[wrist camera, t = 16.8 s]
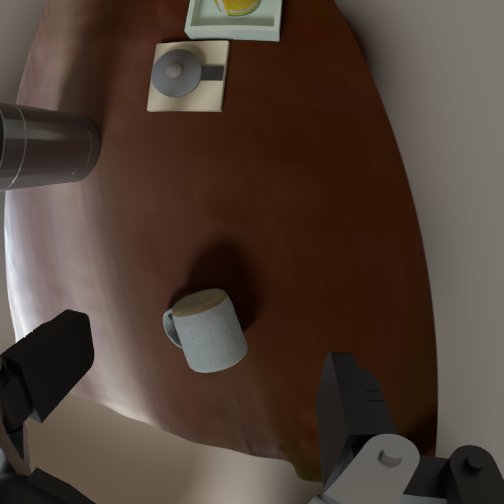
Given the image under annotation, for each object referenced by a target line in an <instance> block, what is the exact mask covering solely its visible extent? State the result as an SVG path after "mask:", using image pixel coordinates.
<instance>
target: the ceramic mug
mask: <svg viewBox="0 0 504 504" xmlns="http://www.w3.org/2000/svg"><path fill="white" fill-rule="evenodd" d="M171 315H172V316H171ZM172 317H173V319H172ZM172 320H173V321H172ZM173 322H174V324H173ZM163 325H164V329H165V331H166V333H167V335H168V337H169V338H170V340H171V341H172V342H173V343H174V344H176V345H177V346H178V347H180V348H182V349H183V351H184V353H185V356H186V359H187V362H188V364H189V366H190V368H191V369H193V370H194V371H197V372H202V373H208V372H215V371H219V370H223V369H226V368H228V367H231V366H233V365H234V364H236V363H237V362H239V361H240V360H241V359H242V358H243V357H244V356H245V354H246V353H247V349H248V346H247V343H246V340H245V338H244V335H243V332H242V329H241V326H240V324H239V321H238V319H237V316H236V313H235V310H234V307H233V304H232V302H231V300H230V298H229V296H228V295H227V293H226V292H225V291H223V290H221V289H208V290H203V291H199V292H196V293H193V294H191V295H189V296H186V297H184V298H182V299H181V300H179V301H178V302H176V303H175V305H174V306H173V307H172V308H171V309H169V310H167V311H166V312H165V313H164V316H163ZM174 326H175V327H174ZM175 328H176V330H175ZM176 331H177V332H176Z"/></svg>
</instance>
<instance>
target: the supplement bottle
mask: <svg viewBox="0 0 504 504" xmlns="http://www.w3.org/2000/svg"><path fill="white" fill-rule="evenodd" d="M214 2H215V4H216V6H217V8H218V10H219V11H220V12H221V13H222V14H223V15H225V16H227V17H231V18H242V17H246V16H249V15H251V14H252V13H254V12H255V11H256V10H257V9H258V7H259V5H260V0H214Z"/></svg>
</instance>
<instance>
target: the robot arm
mask: <svg viewBox="0 0 504 504" xmlns="http://www.w3.org/2000/svg"><path fill="white" fill-rule="evenodd" d="M99 149H100V140H99V134H98V131H97V129H96V127H95V125H94V124H93V123H92V122H91V121H90V120H89V119H87V118H85V117H82V116H77V115H73V114H68V113H63V112H58V111H53V110H47V109H42V108H36V107H30V106H24V105H17V104H10V103H2V102H0V191H7V190H13V189H20V188H27V187H35V186H42V185H51V184H60V183H69V182H76V181H79V180H81V179H83V178H85V177H86V176H87V175H88V174H89V173H90V171H91V170H92V169H93V167H94V165H95V163H96V161H97V158H98V155H99ZM93 361H94V347H93V341H92V334H91V328H90V321H89V317H88V315H87V314H85V313H81V312H77V311H73V310H69V309H67V310H65V311H63V312H62V313H61V314H59V315H58V316H56V317H55V318H54V319H52V320H51V321H48V322H46V323H43V324H41V325H40V326H38V327H37V328H36V329H34V330H33V332H30V333H29V334H27V335H26V337H25V338H24V337H23V338H22V339H21V340H19V341H18V342H17V343H15V344H14V345H13V346H11V347H10V348H9V349H7V350H6V351H5V352H3V353H2V354H1V355H0V504H96V503H94V502H93V501H91V500H90V499H88V498H87V497H86V496H84V495H83V494H82V493H80V492H79V491H78V490H76V489H75V488H74V487H72V486H71V485H70V484H67V483H66V482H63V481H62V480H60V479H58V478H56V477H54V476H52V475H50V474H48V473H46V472H44V471H42V470H41V469H39V468H36V469H35V470H34V471H33V473H31V468H30V458H29V442H28V426H27V423H26V421H25V420H26V419H27V418H28V417H30V418H32V419H34V420H36V421H38V422H40V423H42V422H43V421H44V420H45V419H46V417H47V416H48V415H49V414H50V413H51V412H52V411H53V410H54V408H55V407H56V406H57V405H58V404H59V403H60V401H61V400H62V399H63V398H64V397H65V396H66V395H67V394H68V393H69V391H70V390H71V389H72V388H73V387H74V386H75V385H76V384H77V382H78V381H79V380H80V379H81V378H82V377H83V376H84V375H85V374H86V372H87V371H88V370H89V369H90V368H91V366H92V364H93ZM316 413H317V422H318V433H319V443H320V454H321V466H322V479H323V489H328V490H327V491H326V492H325V493H324V494H323V495H322V496H320V495H318V496H316V497H315V498H314V499H312V500H311V501H310V502H309V503H308V504H504V480H503V478H502V475H501V473H500V471H499V469H498V467H497V465H496V463H495V461H494V459H493V457H492V456H491V454H489V453H488V452H487V451H486V450H484V449H483V448H481V447H478V446H473V445H465V446H462V447H459V448H458V449H456V450H455V451H454V452H453V454H452V455H451V456H450V458H449V459H446V458H437V457H429V456H424V455H420V454H419V452H418V450H417V448H416V446H415V445H414V444H413V443H412V442H411V441H409V440H408V439H406V438H404V437H402V436H399V435H398V433H397V430H396V428H395V425H394V422H393V420H392V417H391V414H390V411H389V409H388V406H387V404H386V402H385V398H384V396H383V393H381V388H380V385H379V383H378V380H377V379H376V378H375V377H374V376H373V375H372V374H371V373H370V372H369V371H368V370H367V369H358V367H357V364H356V361H355V358H354V355H353V354H352V353H341V352H328V354H327V357H326V360H325V365H324V369H323V373H322V377H321V380H320V384H319V388H318V392H317V399H316Z"/></svg>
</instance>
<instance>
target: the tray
mask: <svg viewBox="0 0 504 504" xmlns="http://www.w3.org/2000/svg"><path fill="white" fill-rule="evenodd" d="M282 2H283V0H260V5H259V7H258V9H257V10H256V11H255V12H254V13H252V14H251V15H249V16H246V17H242V18H231V17H227V16H225V15H223V14H222V13H221V12H220V11H219V10H218V8H217V6H216V4H215V2H214V0H190V5H189V10H188V15H187V20H186V26H185V32H186V34H187V35H188V36H189V38H190V39H191V40H208V39H242V40H266V41H279V38H280V26H281V14H282Z"/></svg>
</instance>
